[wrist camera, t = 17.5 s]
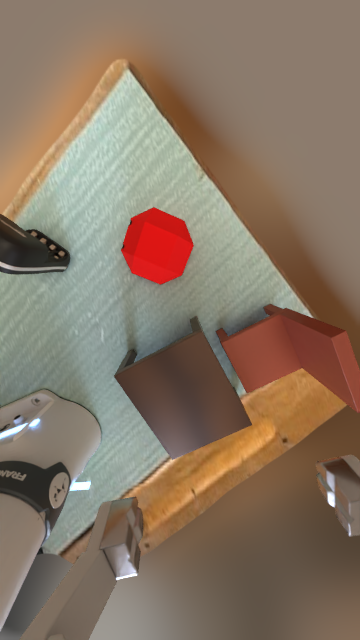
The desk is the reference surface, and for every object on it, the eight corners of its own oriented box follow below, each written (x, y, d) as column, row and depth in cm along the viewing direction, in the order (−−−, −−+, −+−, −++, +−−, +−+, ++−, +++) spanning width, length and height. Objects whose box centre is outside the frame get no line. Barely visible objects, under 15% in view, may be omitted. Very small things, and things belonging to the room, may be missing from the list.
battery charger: (78, 252, 30) (20, 243, 19) (65, 273, 31) (3, 277, 20) (34, 221, 29) (-55, 193, 18) (22, 244, 29) (-70, 231, 18)
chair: (236, 374, 35) (277, 447, 21) (213, 330, 33) (242, 379, 19) (290, 348, 34) (372, 407, 20) (270, 301, 32) (346, 330, 18)
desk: (173, 421, 38) (172, 460, 30) (127, 351, 34) (113, 376, 26) (236, 392, 36) (252, 425, 29) (196, 316, 33) (202, 331, 25)
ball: (144, 212, 29) (132, 193, 21) (196, 235, 29) (202, 224, 22) (126, 266, 30) (110, 266, 23) (176, 286, 31) (175, 292, 24)
